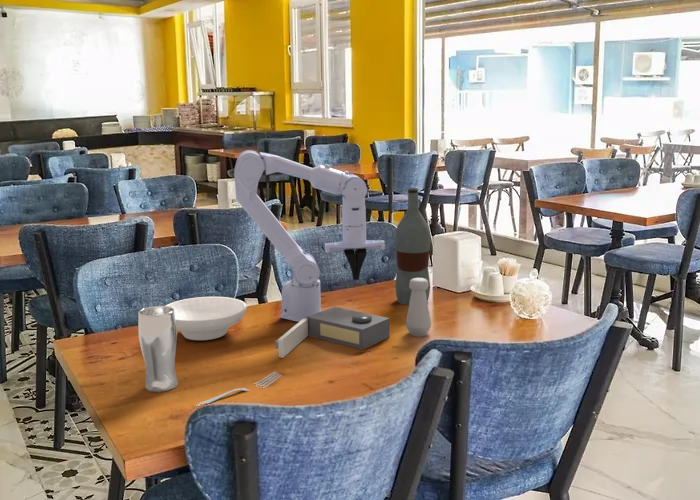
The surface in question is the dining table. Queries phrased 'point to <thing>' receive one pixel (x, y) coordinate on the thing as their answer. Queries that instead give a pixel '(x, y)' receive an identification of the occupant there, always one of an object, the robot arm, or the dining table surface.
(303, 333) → the door
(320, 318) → the camera housing
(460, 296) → the dining table surface
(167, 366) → the beer glass
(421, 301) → the salt shaker
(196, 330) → the bowl
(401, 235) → the bottle
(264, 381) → the fork
